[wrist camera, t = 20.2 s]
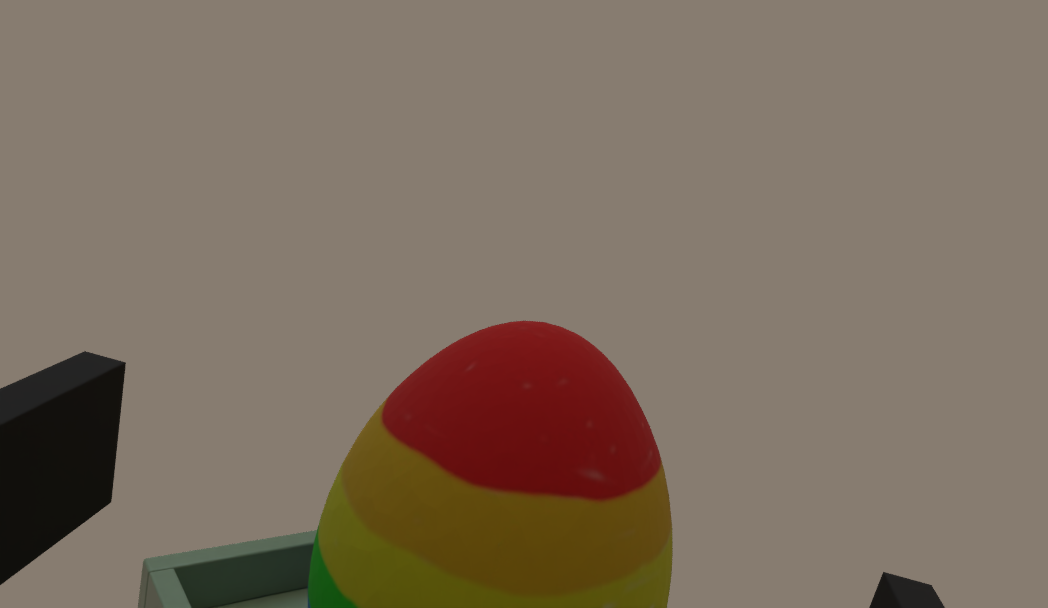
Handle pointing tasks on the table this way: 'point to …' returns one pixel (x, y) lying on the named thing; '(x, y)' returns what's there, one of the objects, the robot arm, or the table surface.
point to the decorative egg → (500, 486)
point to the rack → (232, 575)
